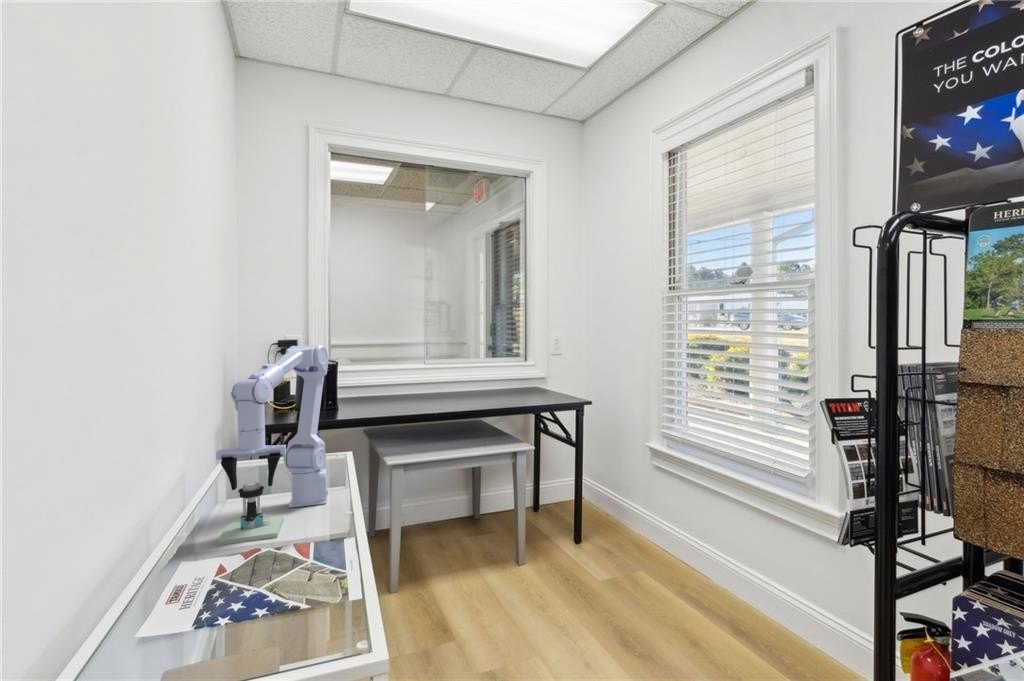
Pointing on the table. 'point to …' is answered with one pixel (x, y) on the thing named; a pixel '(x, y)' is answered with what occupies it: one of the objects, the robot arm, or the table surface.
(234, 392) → the robot arm
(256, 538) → the sage board
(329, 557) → the table surface
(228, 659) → the table surface
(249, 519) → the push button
